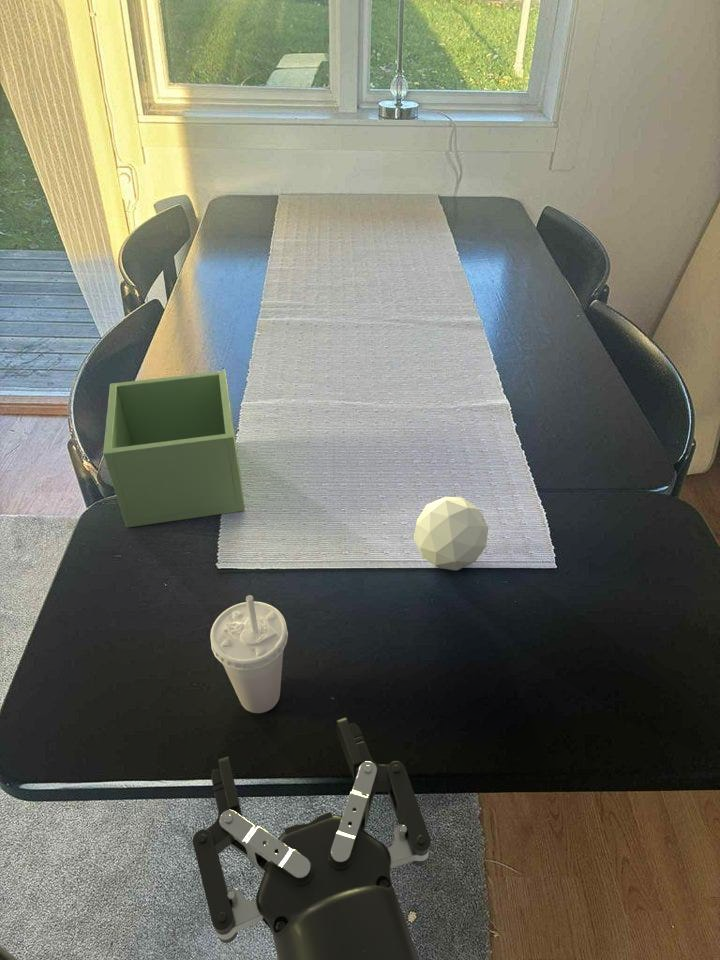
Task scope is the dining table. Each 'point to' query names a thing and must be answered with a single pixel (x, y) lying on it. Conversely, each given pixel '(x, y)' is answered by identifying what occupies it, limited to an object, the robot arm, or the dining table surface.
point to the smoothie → (251, 651)
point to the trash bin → (172, 448)
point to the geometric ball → (451, 533)
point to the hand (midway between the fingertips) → (283, 743)
